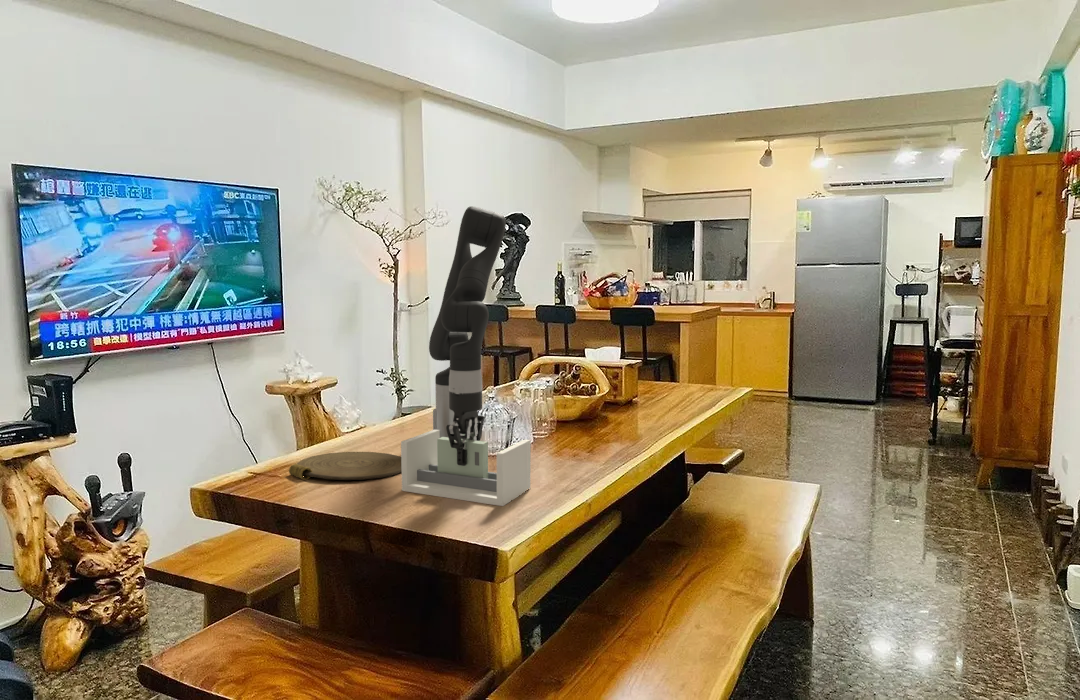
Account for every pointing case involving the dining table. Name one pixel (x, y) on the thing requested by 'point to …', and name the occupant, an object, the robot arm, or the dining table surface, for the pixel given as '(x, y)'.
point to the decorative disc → (348, 466)
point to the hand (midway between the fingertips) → (466, 462)
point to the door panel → (475, 458)
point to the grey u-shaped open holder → (492, 490)
